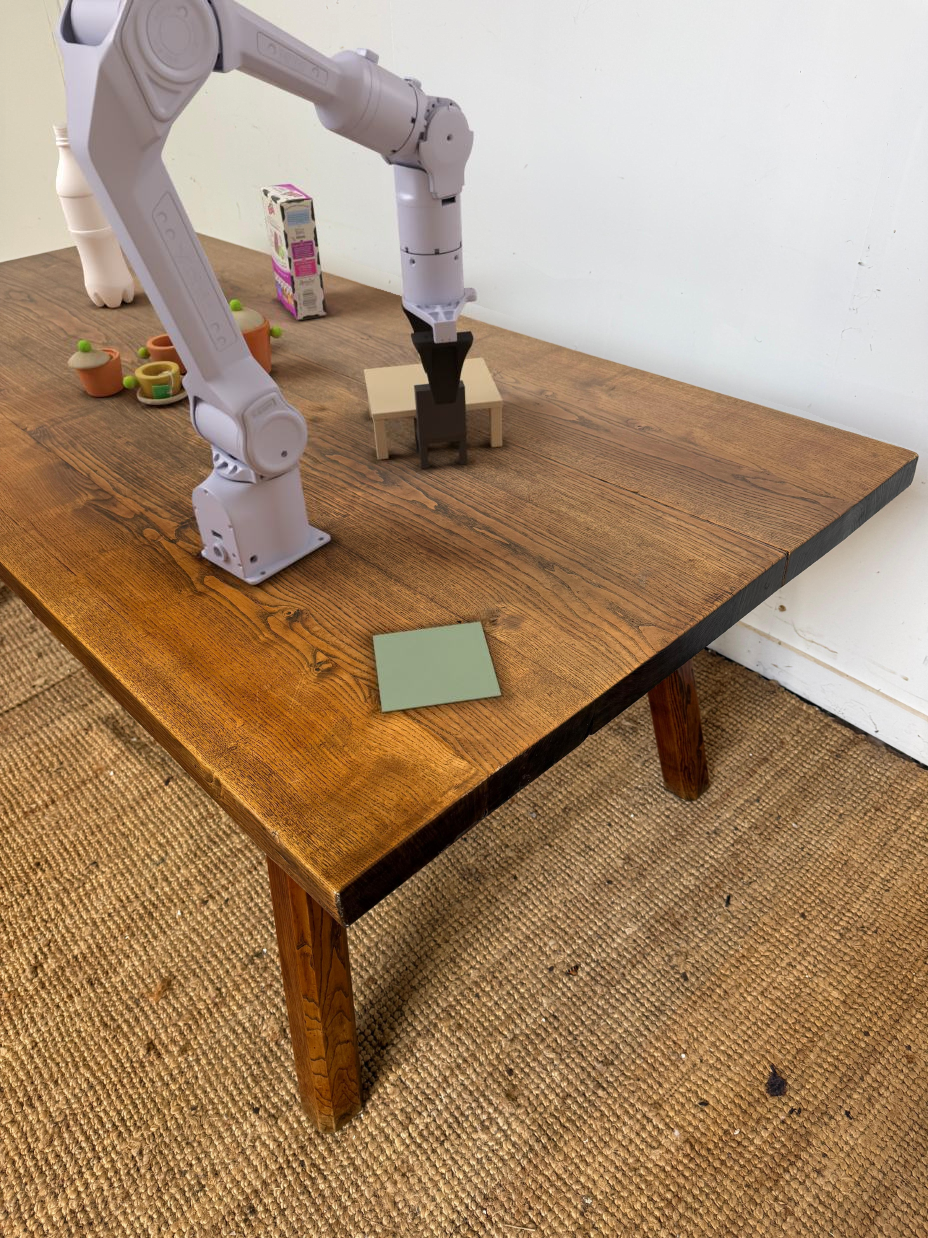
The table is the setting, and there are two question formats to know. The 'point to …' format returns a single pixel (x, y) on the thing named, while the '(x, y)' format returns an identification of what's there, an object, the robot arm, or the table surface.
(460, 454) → the toy chair
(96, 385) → the toy tea set
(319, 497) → the table surface
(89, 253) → the water bottle
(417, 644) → the mat
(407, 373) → the side table
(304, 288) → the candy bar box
